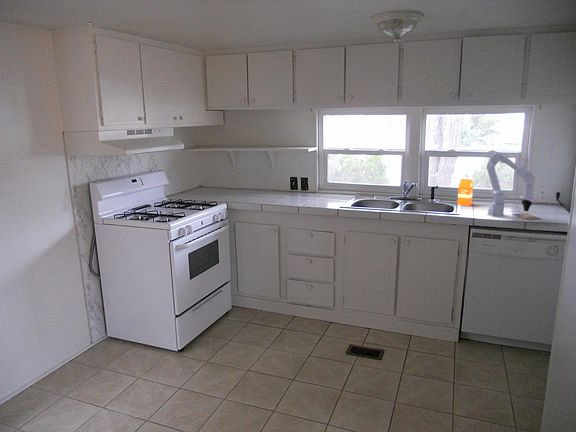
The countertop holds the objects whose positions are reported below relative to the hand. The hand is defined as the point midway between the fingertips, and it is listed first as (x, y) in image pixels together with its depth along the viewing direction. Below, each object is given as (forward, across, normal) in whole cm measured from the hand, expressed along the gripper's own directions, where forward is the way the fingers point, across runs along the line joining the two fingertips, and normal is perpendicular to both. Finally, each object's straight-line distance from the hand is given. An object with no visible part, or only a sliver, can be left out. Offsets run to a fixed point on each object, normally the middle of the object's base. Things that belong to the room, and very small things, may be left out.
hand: (526, 211), depth 299 cm
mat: (+5, +2, -2) cm, 6 cm away
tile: (+4, +1, 0) cm, 4 cm away
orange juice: (+5, +50, +19) cm, 54 cm away
